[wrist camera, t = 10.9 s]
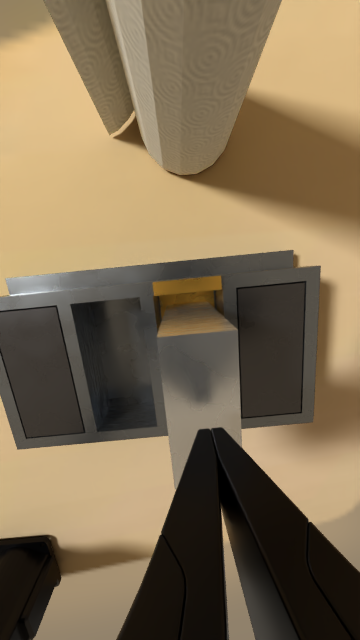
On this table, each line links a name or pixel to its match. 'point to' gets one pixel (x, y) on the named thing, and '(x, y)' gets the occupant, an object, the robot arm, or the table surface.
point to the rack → (150, 345)
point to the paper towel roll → (168, 68)
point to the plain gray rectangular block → (198, 376)
